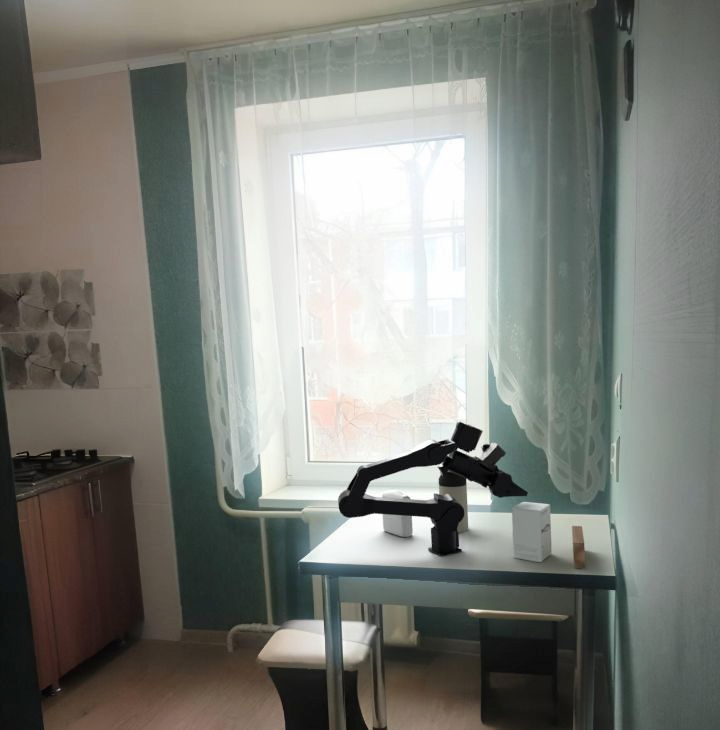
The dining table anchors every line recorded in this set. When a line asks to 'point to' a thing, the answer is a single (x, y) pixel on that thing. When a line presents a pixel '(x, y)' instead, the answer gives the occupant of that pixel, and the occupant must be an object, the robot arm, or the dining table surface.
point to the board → (578, 547)
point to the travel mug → (456, 494)
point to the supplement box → (531, 531)
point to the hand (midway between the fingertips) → (521, 490)
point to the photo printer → (397, 517)
